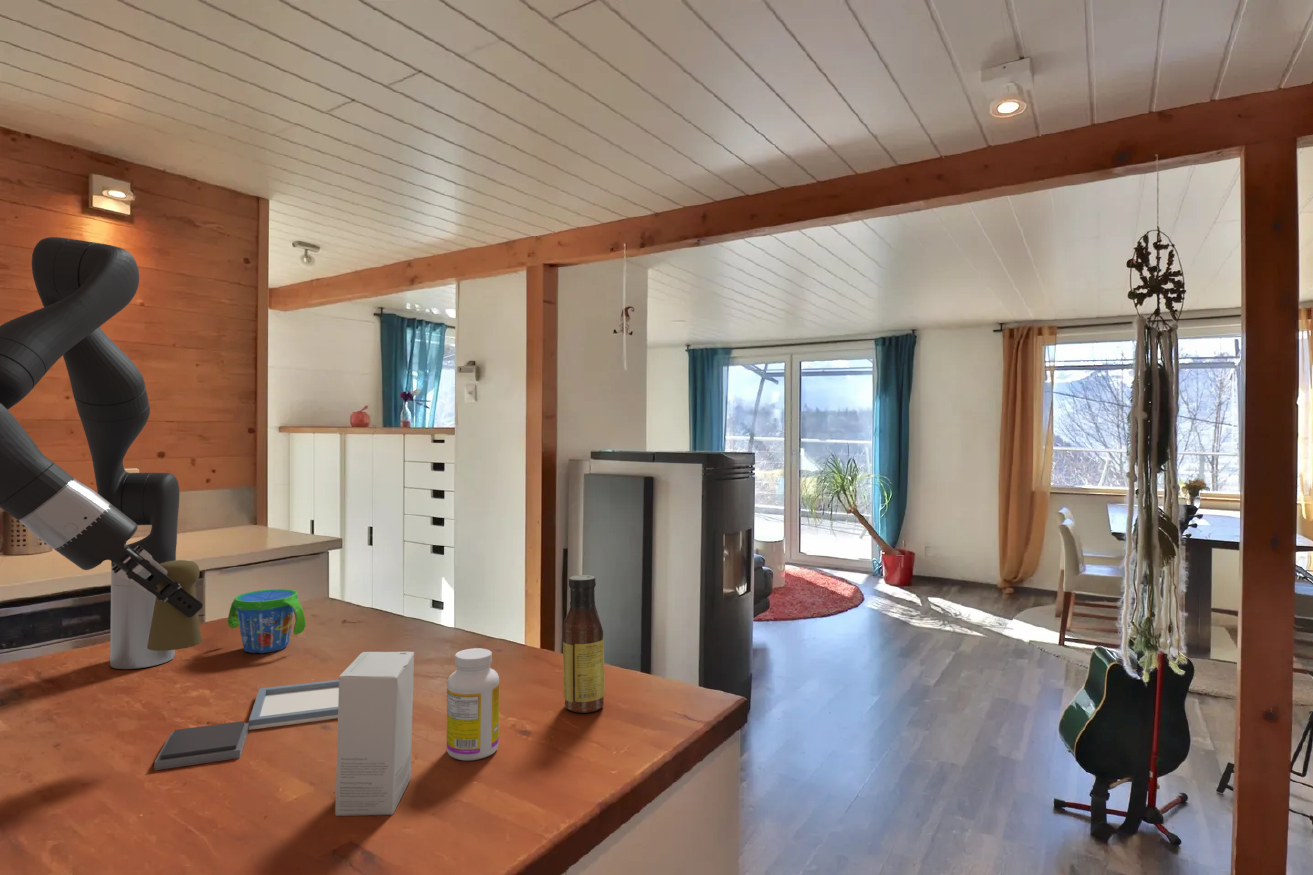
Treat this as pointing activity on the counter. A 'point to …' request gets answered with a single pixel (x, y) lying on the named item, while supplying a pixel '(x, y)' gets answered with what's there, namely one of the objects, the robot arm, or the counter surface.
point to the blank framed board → (295, 704)
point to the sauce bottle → (583, 649)
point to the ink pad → (203, 745)
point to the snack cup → (266, 618)
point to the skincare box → (374, 733)
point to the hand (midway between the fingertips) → (192, 607)
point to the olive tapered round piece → (175, 612)
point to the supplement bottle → (472, 706)
